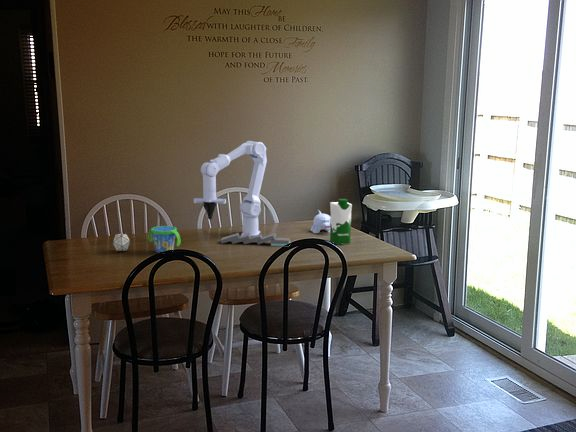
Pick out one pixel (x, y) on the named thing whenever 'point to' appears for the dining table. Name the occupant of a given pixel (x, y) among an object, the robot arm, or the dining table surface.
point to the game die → (121, 242)
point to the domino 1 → (229, 238)
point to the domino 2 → (241, 238)
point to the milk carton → (340, 221)
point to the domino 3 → (253, 239)
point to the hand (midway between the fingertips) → (210, 218)
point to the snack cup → (164, 238)
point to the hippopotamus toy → (321, 223)
